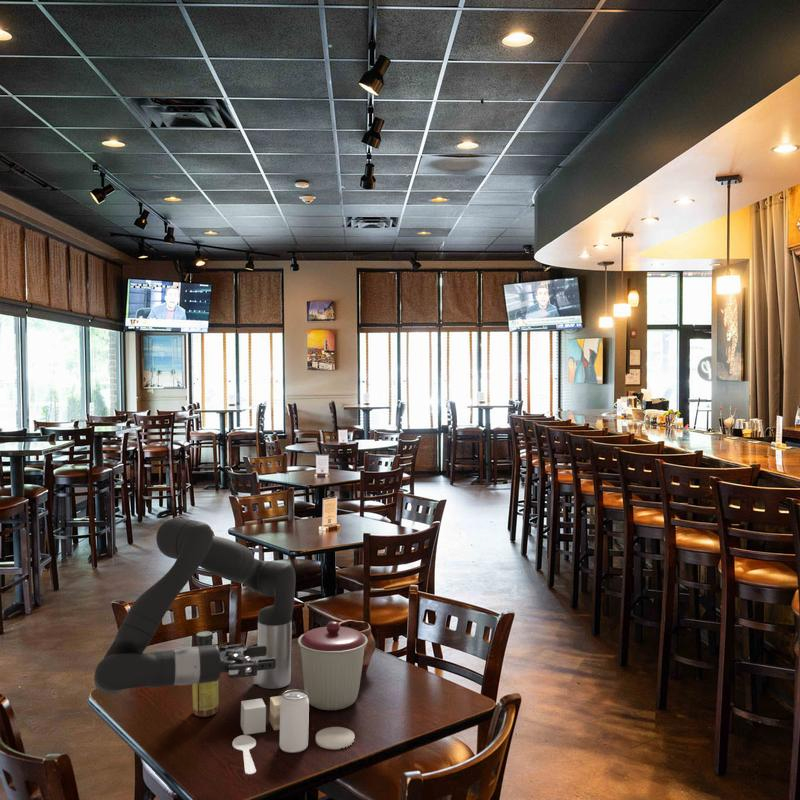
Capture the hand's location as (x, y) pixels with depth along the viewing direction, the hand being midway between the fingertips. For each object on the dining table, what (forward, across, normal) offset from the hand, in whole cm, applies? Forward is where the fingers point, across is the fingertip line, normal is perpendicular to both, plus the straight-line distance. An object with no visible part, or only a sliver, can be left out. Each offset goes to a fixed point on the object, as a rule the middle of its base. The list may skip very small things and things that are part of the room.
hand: (270, 656), depth 163 cm
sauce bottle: (-10, +27, +22) cm, 36 cm away
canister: (+22, +21, +22) cm, 37 cm away
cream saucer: (+16, +1, +22) cm, 27 cm away
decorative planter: (+34, +38, +21) cm, 55 cm away
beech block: (+7, +14, +22) cm, 27 cm away
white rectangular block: (0, +14, +22) cm, 26 cm away
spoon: (-4, +2, +22) cm, 23 cm away
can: (+6, +2, +22) cm, 23 cm away
